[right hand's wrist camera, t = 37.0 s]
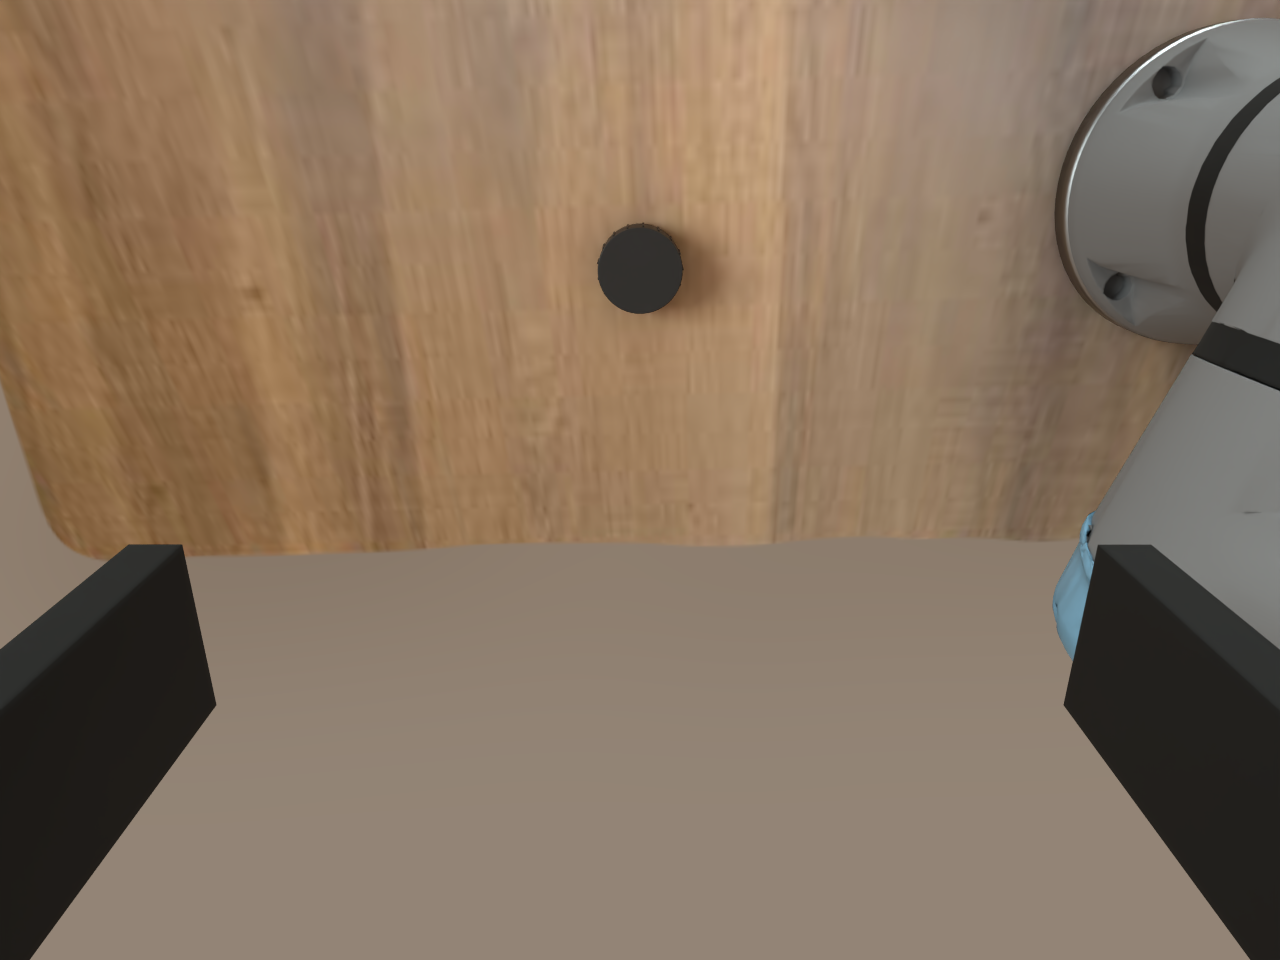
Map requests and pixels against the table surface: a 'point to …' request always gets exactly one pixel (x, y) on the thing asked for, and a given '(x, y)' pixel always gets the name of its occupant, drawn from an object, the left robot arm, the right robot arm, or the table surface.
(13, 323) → the table surface
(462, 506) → the table surface
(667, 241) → the cap
